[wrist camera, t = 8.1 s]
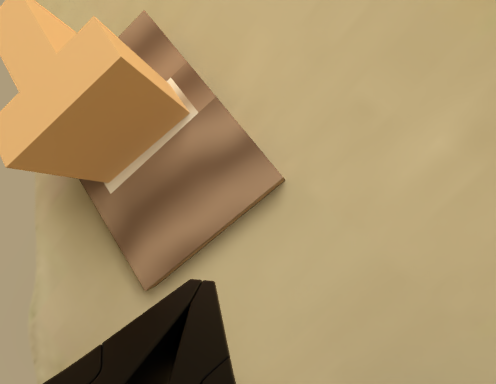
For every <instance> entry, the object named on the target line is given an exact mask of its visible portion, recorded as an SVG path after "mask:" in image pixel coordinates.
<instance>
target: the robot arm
mask: <svg viewBox="0 0 496 384" xmlns="http://www.w3.org/2000/svg"><path fill="white" fill-rule="evenodd" d="M43 384H236V382H235V378H234V374H233V369H232V364H231V360H230V355H229V350H228V345H227V340H226V335H225V330H224V325H223V320H222V315H221V310H220V305H219V300H218V295H217V290H216V285H215V282H214V281H206V280H204V281H203V282H202V281H201V280H195V279H190V280H189V281H187V282H186V283H184V284H183V285H182V286H180V287H179V288H177V289H176V290H175V291H173V292H172V293H171V294H169V295H168V296H166V297H165V298H164V299H162V300H161V301H160V302H158V303H157V304H155V305H154V306H153V307H151V308H150V309H149V310H147V311H146V312H144V313H143V314H142V315H140V316H139V317H137V318H136V319H135V320H133V321H132V322H131V323H129V324H128V325H126V326H125V327H124V328H122V329H121V330H120V331H118V332H117V333H115V334H114V335H113V336H111V337H110V338H109V339H107V340H106V341H104V342H103V343H102V345H99V346H97V347H96V348H95V349H93V350H92V351H90V352H89V353H88V354H86V355H85V356H83V357H82V358H81V359H79V360H78V361H76V362H75V363H73V364H72V365H70V366H69V367H68V368H66V369H65V370H63V371H62V372H60V373H59V374H57V375H55V376H54V377H52V378H51V379H49V380H48V381H46V382H45V383H43Z"/></svg>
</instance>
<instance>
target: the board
mask: <svg viewBox="0 0 496 384" xmlns="http://www.w3.org/2000/svg"><path fill="white" fill-rule="evenodd" d="M118 38H119V39H120V40H121V41H122V42H123V43H124V44H126V45H127V46H128V47H129V48H130V49H131V50H132V51H133V52H134V53H136V54H137V55H138V56H139V57H140V58H141V59H142V60H143V61H144V62H146V63H147V64H148V65H149V66H150V67H151V68H152V69H153V70H154V71H155V72H157V73H158V74H159V75H160V76H161V77H162V78H163V79H164V80H165V81H167V82H168V83H169V84H170V85H171V87H172V88H173V90H174V91H175V93H176V94H177V95H178V97H179V98H180V100H181V101H182V102H183V104H184V105H185V107H186V108H187V109H188V111H189V112H190V113H189V114H188V115H187V116H186V117H185V118H183V119H182V120H181V121H180V122H179V123H178V124H176V125H175V126H174V127H173V128H172V129H171V130H169V131H168V132H167V133H166V134H165V135H164V136H163V137H161V138H160V139H159V140H158V141H157V142H156V143H154V144H153V145H152V146H151V147H150V148H149V149H147V150H146V151H145V152H144V153H143V154H142V155H141V156H139V157H138V158H137V159H136V160H135V161H134V162H132V163H131V164H130V165H129V166H128V167H127V168H125V169H124V170H123V171H122V172H121V173H120V174H118V175H117V176H116V177H115V178H114V179H113V180H112V181H110V182H109V183H105V182H99V181H92V180H85V179H79V180H80V181H81V183H82V185H83V186H84V188H85V190H86V192H87V193H88V195H89V197H90V198H91V200H92V202H93V203H94V205H95V207H96V208H97V210H98V212H99V214H100V215H101V217H102V219H103V220H104V222H105V224H106V225H107V227H108V229H109V231H110V232H111V234H112V236H113V237H114V239H115V241H116V242H117V244H118V246H119V248H120V249H121V251H122V253H123V254H124V256H125V258H126V259H127V261H128V263H129V264H130V266H131V268H132V270H133V271H134V273H135V275H136V276H137V278H138V280H139V281H140V283H141V285H142V287H143V288H144V290H145V291H146V290H148V289H150V288H152V287H154V286H156V285H157V284H159V283H160V282H161V281H162V280H164V279H165V278H166V277H167V276H169V275H170V274H171V273H172V272H173V271H175V270H176V269H177V268H178V267H180V266H181V265H182V264H183V263H184V262H186V261H187V260H188V259H189V258H191V257H192V256H193V255H194V254H195V253H197V252H198V251H199V250H200V249H202V248H203V247H204V246H205V245H206V244H208V243H209V242H210V241H211V240H213V239H214V238H215V237H216V236H217V235H219V234H220V233H221V232H222V231H224V230H225V229H226V228H227V227H228V226H230V225H231V224H232V223H233V222H235V221H236V220H237V219H238V218H240V217H241V216H242V215H243V214H244V213H246V212H247V211H248V210H249V209H251V208H252V207H253V206H254V205H255V204H257V203H258V202H259V201H260V200H262V199H263V198H264V197H265V196H266V195H268V194H269V193H270V192H271V191H273V190H274V189H275V188H276V187H277V186H279V185H280V184H281V183H282V182H284V181H285V179H284V178H283V177H282V175H281V174H280V173H279V172H278V171H277V169H276V168H275V167H274V166H273V165H272V163H271V162H270V161H269V160H268V159H267V157H266V156H265V155H264V154H263V152H262V151H261V150H260V149H259V148H258V146H257V145H256V144H255V143H254V142H253V140H252V139H251V138H250V137H249V136H248V134H247V133H246V132H245V131H244V130H243V128H242V127H241V126H240V125H239V124H238V122H237V121H236V120H235V119H234V118H233V116H232V115H231V114H230V113H229V112H228V110H227V109H226V108H225V107H224V106H223V104H222V103H221V102H220V101H219V100H218V98H217V97H216V96H215V95H214V94H213V92H212V91H211V90H210V89H209V88H208V86H207V85H206V84H205V83H204V82H203V80H202V79H201V78H200V77H199V75H198V74H197V73H196V72H195V71H194V69H193V68H192V67H191V66H190V65H189V63H188V62H187V61H186V60H185V59H184V57H183V56H182V55H181V54H180V53H179V51H178V50H177V49H176V48H175V47H174V45H173V44H172V43H171V42H170V41H169V39H168V38H167V37H166V36H165V35H164V33H163V32H162V31H161V30H160V29H159V27H158V26H157V25H156V24H155V23H154V21H153V20H152V19H151V18H150V17H149V15H148V14H147V13H146V12H145V11H143V12H142V13H141V14H140V15H139V16H138V17H137V18H136V19H135V20H134V21H133V22H132V23H131V24H130V25H129V26H128V27H127V28H126V29H125V31H124V32H123V33H122V34H121V35H120V36H119V37H118Z"/></svg>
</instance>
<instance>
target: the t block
mask: <svg viewBox="0 0 496 384" xmlns="http://www.w3.org/2000/svg"><path fill="white" fill-rule="evenodd" d="M0 56H1V58H2V60H3V62H4V64H5V66H6V68H7V70H8V71H9V74H10V75H11V77H12V79H13V81H14V83H15V85H16V87H17V89H18V91H19V93H18V94H17V95H16V96H15V97H14V98H13V99H12V100H11V101H10V102H9V103H8V104H7V105H6V106H5V107H4V108H3V109H2V110H1V111H0V155H1V158H2V160H3V162H4V165H5V167H6V168H12V169H19V170H25V171H33V172H39V173H45V174H52V175H59V176H65V177H72V178H79V179H85V180H92V181H99V182H105V183H109V182H110V181H112V180H113V179H114V178H115V177H116V176H117V175H118V174H120V173H121V172H122V171H123V170H124V169H125V168H127V167H128V166H129V165H130V164H131V163H132V162H134V161H135V160H136V159H137V158H138V157H139V156H141V155H142V154H143V153H144V152H145V151H146V150H147V149H149V148H150V147H151V146H152V145H153V144H154V143H156V142H157V141H158V140H159V139H160V138H161V137H163V136H164V135H165V134H166V133H167V132H168V131H169V130H171V129H172V128H173V127H174V126H175V125H176V124H178V123H179V122H180V121H181V120H182V119H183V118H185V117H186V116H187V115H188V114H189V113H190V112H189V111H188V109H187V108H186V107H185V105H184V104H183V102H182V101H181V100H180V98H179V97H178V95H177V94H176V93H175V91H174V90H173V88H172V87H171V85H170V84H169V83H168V82H167V81H165V80H164V79H163V78H162V77H161V76H160V75H159V74H158V73H157V72H155V71H154V70H153V69H152V68H151V67H150V66H149V65H148V64H147V63H146V62H144V61H143V60H142V59H141V58H140V57H139V56H138V55H137V54H136V53H134V52H133V51H132V50H131V49H130V48H129V47H128V46H127V45H126V44H124V43H123V42H122V41H121V40H120V39H119V38H118V37H117V36H116V35H114V34H113V33H112V32H111V31H110V30H109V29H108V28H107V27H106V26H104V25H103V24H102V23H101V22H100V21H99V20H98V19H97V18H96V17H95V16H93V17H92V18H91V19H90V20H89V21H88V22H87V23H86V24H85V25H84V26H83V27H82V29H81V30H80V31H79V32H78V33H76V32H75V31H74V30H72V29H71V28H70V27H69V26H67V25H66V24H65V23H63V22H62V21H61V20H59V19H58V18H57V17H56V16H54V15H53V14H52V13H50V12H49V11H48V10H46V9H45V8H44V7H42V6H41V5H40V4H39V3H37V2H36V1H35V0H6V1H5V2H4V3H3V4H2V5H1V6H0Z"/></svg>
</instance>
